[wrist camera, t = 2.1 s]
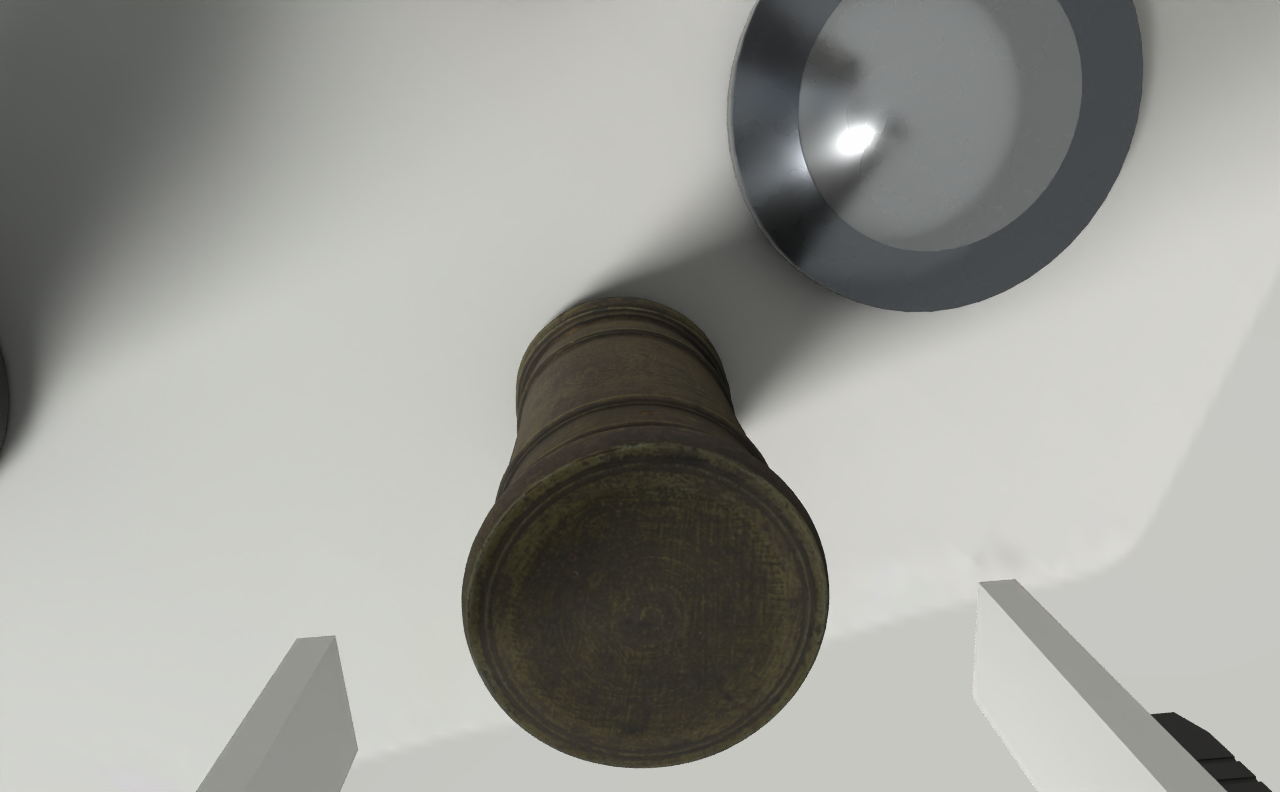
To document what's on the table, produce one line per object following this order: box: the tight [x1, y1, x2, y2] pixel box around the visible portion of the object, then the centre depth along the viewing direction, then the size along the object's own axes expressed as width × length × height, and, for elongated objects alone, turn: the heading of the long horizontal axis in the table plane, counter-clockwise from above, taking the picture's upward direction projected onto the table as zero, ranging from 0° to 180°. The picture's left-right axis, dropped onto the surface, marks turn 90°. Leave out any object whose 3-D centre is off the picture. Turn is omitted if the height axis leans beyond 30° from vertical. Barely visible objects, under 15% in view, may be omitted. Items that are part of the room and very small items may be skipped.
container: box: [462, 297, 829, 768], centre depth 26 cm, size 9×9×18 cm
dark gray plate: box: [727, 0, 1143, 312], centre depth 31 cm, size 16×16×2 cm
